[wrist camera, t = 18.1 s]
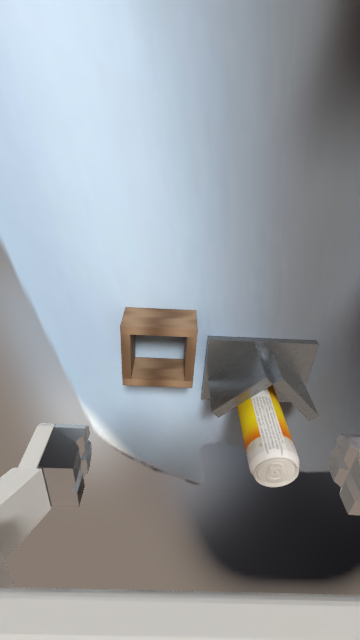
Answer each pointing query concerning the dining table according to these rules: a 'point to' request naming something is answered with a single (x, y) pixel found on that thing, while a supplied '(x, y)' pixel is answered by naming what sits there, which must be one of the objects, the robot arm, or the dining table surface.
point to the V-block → (257, 371)
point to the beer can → (268, 440)
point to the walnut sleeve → (158, 369)
